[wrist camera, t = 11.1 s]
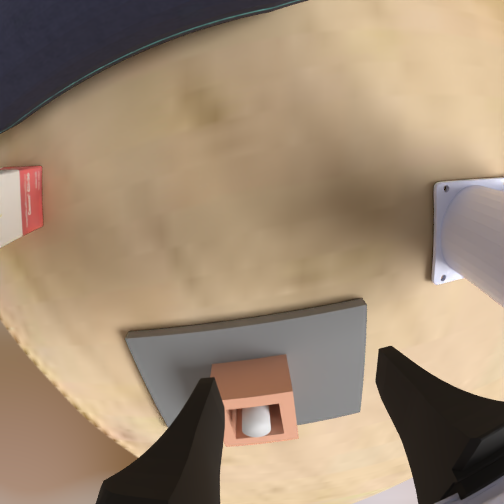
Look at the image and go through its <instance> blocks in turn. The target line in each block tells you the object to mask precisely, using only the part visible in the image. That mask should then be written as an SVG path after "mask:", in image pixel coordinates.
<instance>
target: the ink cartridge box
mask: <svg viewBox="0 0 504 504" xmlns="http://www.w3.org/2000/svg"><path fill="white" fill-rule="evenodd" d="M42 226H43V212H42V166H23V167H0V248H1V247H3V246H5V245H7V244H9V243H11V242H13V241H14V240H17V239H19V238H20V237H22V236H24V235H26V234H28V233H30V232H32V231H34V230H36V229H38V228H40V227H42Z"/></svg>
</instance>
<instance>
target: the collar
mask: <svg viewBox="0 0 504 504" xmlns="http://www.w3.org/2000/svg"><path fill="white" fill-rule="evenodd" d="M210 377H215V380H216V383H217V386H218V389H219V392H220V395H221V398H222V401H223V404H224V407H225V431H224V440H223V441H224V444H225V446H226V447H230V446H243V445H253V444H263V443H271V442H279V441H286V440H292V439H298V438H299V437H298V429H297V421H296V413H295V405H294V397H293V390H292V384H291V378H290V373H289V367H288V362H287V356H286V354H284V355H277V356H271V357H264V358H257V359H250V360H243V361H235V362H226V363H217V364H212V368H211V375H210ZM265 405H269V412H270V424H271V431H270V432H269V433H268V434H267V435H265V436H262V437H250V436H247V435H245V434H244V433H243V432H242V408H248V407H257V406H265Z"/></svg>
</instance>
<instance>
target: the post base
mask: <svg viewBox="0 0 504 504" xmlns="http://www.w3.org/2000/svg"><path fill="white" fill-rule="evenodd" d="M366 322H367V304H366V303H365V301H364V300H363V298H361V299H356V300H351V301H346V302H341V303H336V304H330V305H325V306H320V307H314V308H308V309H303V310H297V311H291V312H285V313H279V314H272V315H266V316H259V317H253V318H246V319H239V320H231V321H224V322H216V323H208V324H200V325H191V326H182V327H173V328H163V329H153V330H142V331H130V332H128V334H127V336H126V338H125V340H126V342H127V345H128V347H129V349H130V352H131V354H132V356H133V359H134V361H135V363H136V365H137V367H138V370H139V372H140V374H141V376H142V378H143V380H144V382H145V384H146V386H147V388H148V390H149V392H150V394H151V396H152V398H153V400H154V402H155V404H156V406H157V408H158V410H159V412H160V414H161V415H162V417H163V419H164V421H165V423H166V424H167V426H168V428H169V426H170V425H171V424H172V422H173V421H174V420H175V418H176V417H177V416H178V414H179V413H180V411H181V410H182V408H183V407H184V405H185V403H186V402H187V400H188V399H189V397H190V395H191V394H192V392H193V390H194V388H195V387H196V385H197V383H198V381H199V380H200V379H201V378H209V377H210V375H211V368H212V364H217V363H226V362H235V361H243V360H250V359H257V358H264V357H271V356H277V355H284V354H286V356H287V362H288V367H289V373H290V378H291V384H292V390H293V397H294V405H295V413H296V421H297V425H301V424H307V423H312V422H318V421H323V420H328V419H332V418H337V417H341V416H346V415H350V414H354V413H358V412H360V408H361V399H362V388H363V377H364V363H365V346H366ZM270 431H271V424H270V412H269V405H265V406H257V407H248V408H242V432H243V433H244V434H245V435H247V436H250V437H262V436H265V435H267V434H268V433H269V432H270Z"/></svg>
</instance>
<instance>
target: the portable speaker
mask: <svg viewBox="0 0 504 504" xmlns="http://www.w3.org/2000/svg"><path fill="white" fill-rule="evenodd" d="M304 1H308V0H0V134H1V133H3V132H5V131H6V130H8V129H10V128H12V127H14V126H15V125H17V124H19V123H21V122H22V121H23V120H25V119H26V118H27V117H29V116H30V115H31V114H33V113H34V112H36V111H37V110H39V109H40V108H41V107H43V106H44V105H46V104H47V103H49V102H50V101H52V100H53V99H55V98H56V97H58V96H60V95H61V94H63V93H64V92H66V91H68V90H69V89H71V88H73V87H74V86H76V85H78V84H79V83H81V82H83V81H85V80H86V79H88V78H90V77H92V76H94V75H95V74H97V73H99V72H101V71H103V70H105V69H107V68H109V67H111V66H113V65H115V64H117V63H119V62H121V61H123V60H125V59H127V58H129V57H132V56H134V55H136V54H138V53H140V52H143V51H145V50H147V49H150V48H152V47H155V46H157V45H160V44H162V43H165V42H167V41H170V40H172V39H175V38H178V37H181V36H184V35H186V34H189V33H192V32H195V31H198V30H201V29H205V28H208V27H211V26H214V25H218V24H221V23H225V22H229V21H232V20H236V19H240V18H244V17H249V16H253V15H258V14H262V13H267V12H271V11H274V10H277V9H280V8H284V7H287V6H290V5H293V4H297V3H300V2H304Z"/></svg>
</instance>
